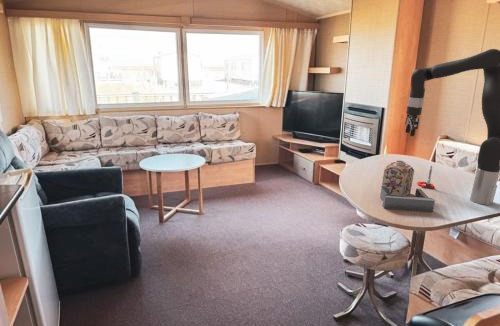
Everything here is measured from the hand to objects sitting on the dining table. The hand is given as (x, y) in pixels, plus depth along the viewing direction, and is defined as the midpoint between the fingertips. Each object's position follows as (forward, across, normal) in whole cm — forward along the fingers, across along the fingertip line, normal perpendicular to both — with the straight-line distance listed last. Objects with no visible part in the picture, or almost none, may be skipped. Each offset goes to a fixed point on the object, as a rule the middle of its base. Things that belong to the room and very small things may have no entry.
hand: (409, 134), depth 189 cm
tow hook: (+29, +5, +12) cm, 31 cm away
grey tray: (+28, +36, -9) cm, 46 cm away
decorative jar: (+29, +21, -9) cm, 37 cm away
